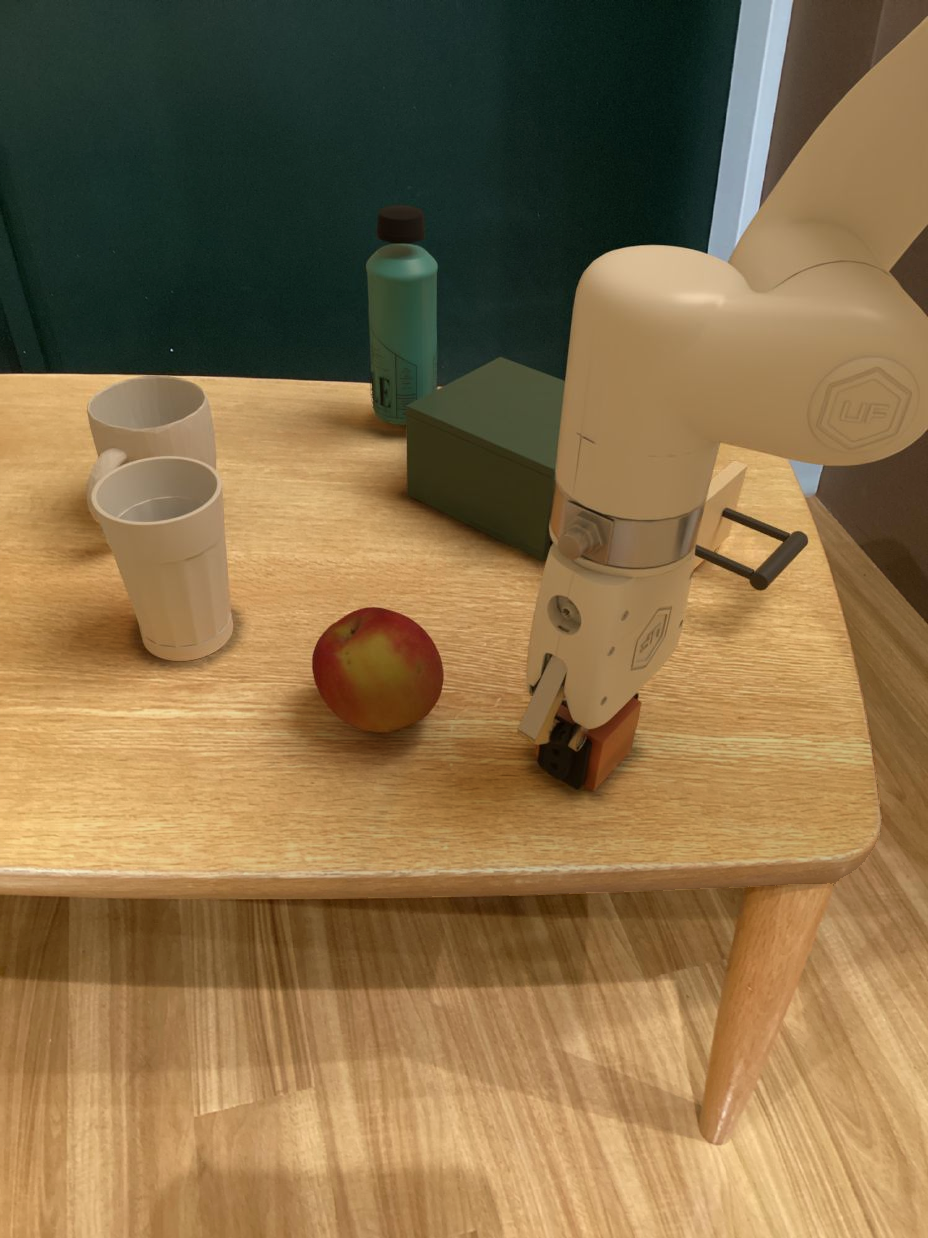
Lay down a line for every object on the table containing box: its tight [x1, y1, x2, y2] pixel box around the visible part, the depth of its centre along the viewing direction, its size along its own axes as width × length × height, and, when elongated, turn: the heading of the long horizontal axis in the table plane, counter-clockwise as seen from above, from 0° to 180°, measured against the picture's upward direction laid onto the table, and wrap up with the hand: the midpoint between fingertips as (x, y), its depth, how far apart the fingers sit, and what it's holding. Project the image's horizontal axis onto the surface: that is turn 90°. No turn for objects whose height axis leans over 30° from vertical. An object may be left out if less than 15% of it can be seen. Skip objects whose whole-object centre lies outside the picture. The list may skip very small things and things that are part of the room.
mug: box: [85, 375, 217, 525], centre depth 73 cm, size 13×9×10 cm
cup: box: [91, 456, 234, 662], centre depth 62 cm, size 8×8×12 cm
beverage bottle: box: [365, 204, 440, 426], centre depth 84 cm, size 6×7×20 cm
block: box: [535, 697, 643, 792], centre depth 57 cm, size 4×4×4 cm
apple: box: [311, 606, 445, 733], centre depth 58 cm, size 8×8×8 cm
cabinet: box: [405, 356, 565, 562], centre depth 78 cm, size 15×13×9 cm
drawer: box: [550, 460, 809, 591], centre depth 72 cm, size 20×11×7 cm, turn 51°
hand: (584, 749), depth 58 cm, fingers closed on block, 4 cm apart
